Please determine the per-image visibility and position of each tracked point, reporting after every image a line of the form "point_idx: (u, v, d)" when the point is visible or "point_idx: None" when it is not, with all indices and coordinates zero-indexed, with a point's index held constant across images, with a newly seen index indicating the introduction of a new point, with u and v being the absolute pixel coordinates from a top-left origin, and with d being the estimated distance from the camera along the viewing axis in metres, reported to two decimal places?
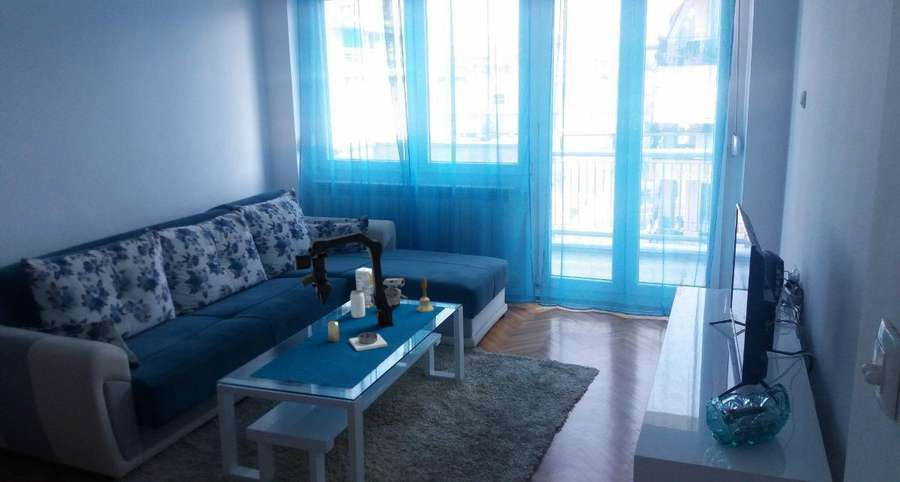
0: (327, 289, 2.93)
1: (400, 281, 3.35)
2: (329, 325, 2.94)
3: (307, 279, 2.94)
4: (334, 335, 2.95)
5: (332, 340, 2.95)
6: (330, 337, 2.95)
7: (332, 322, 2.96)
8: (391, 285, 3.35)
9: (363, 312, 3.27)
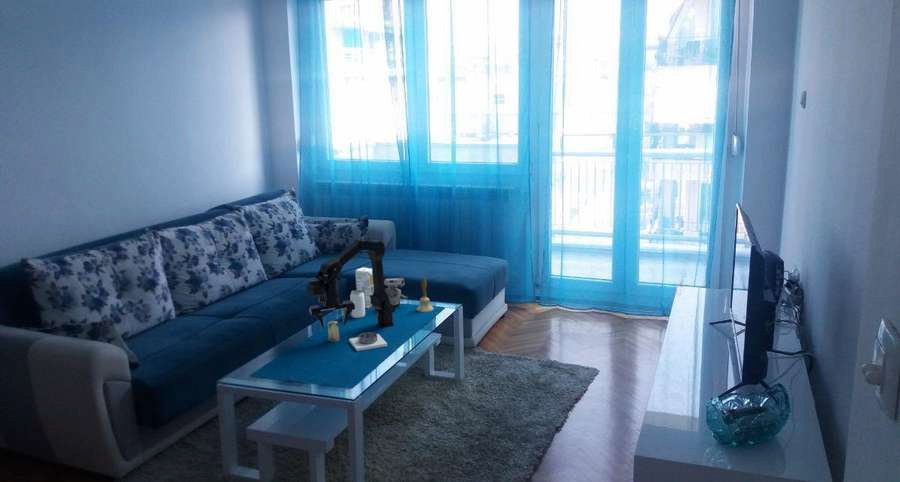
0: (310, 313, 2.90)
1: (400, 281, 3.35)
2: (329, 325, 2.94)
3: (318, 297, 2.98)
4: (334, 335, 2.95)
5: (332, 340, 2.95)
6: (330, 337, 2.95)
7: (332, 322, 2.96)
8: (391, 285, 3.35)
9: (363, 312, 3.27)
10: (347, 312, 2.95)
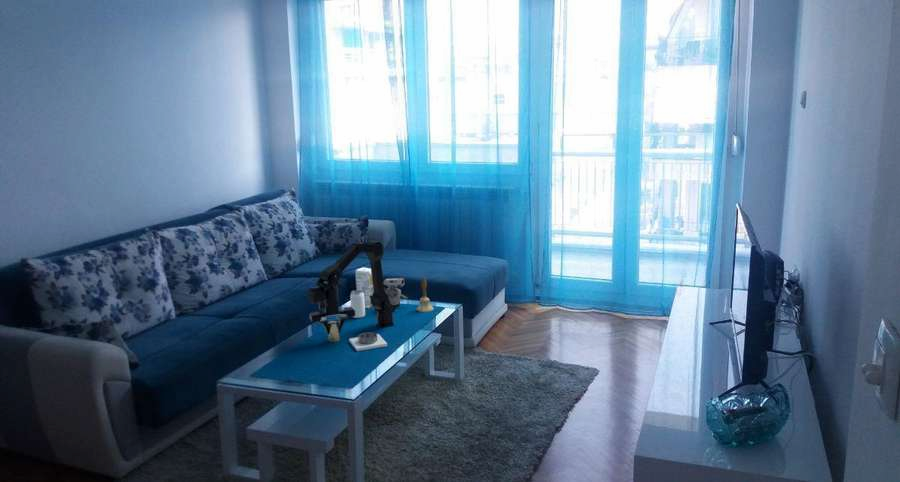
0: (311, 319, 2.91)
1: (400, 281, 3.35)
2: (329, 325, 2.94)
3: (319, 304, 2.98)
4: (334, 335, 2.95)
5: (332, 340, 2.95)
6: (330, 337, 2.95)
7: (332, 322, 2.96)
8: (391, 285, 3.35)
9: (363, 312, 3.27)
10: (342, 319, 2.94)
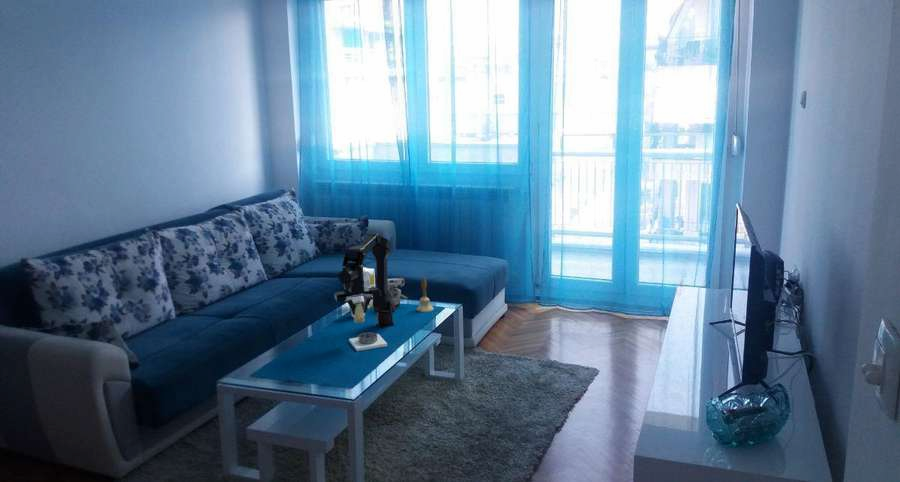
0: (336, 299, 2.84)
1: (400, 281, 3.35)
2: (354, 305, 2.88)
3: (344, 283, 2.92)
4: (359, 315, 2.88)
5: (357, 320, 2.89)
6: (355, 317, 2.89)
7: (357, 302, 2.89)
8: (391, 285, 3.35)
9: None
10: (368, 299, 2.88)
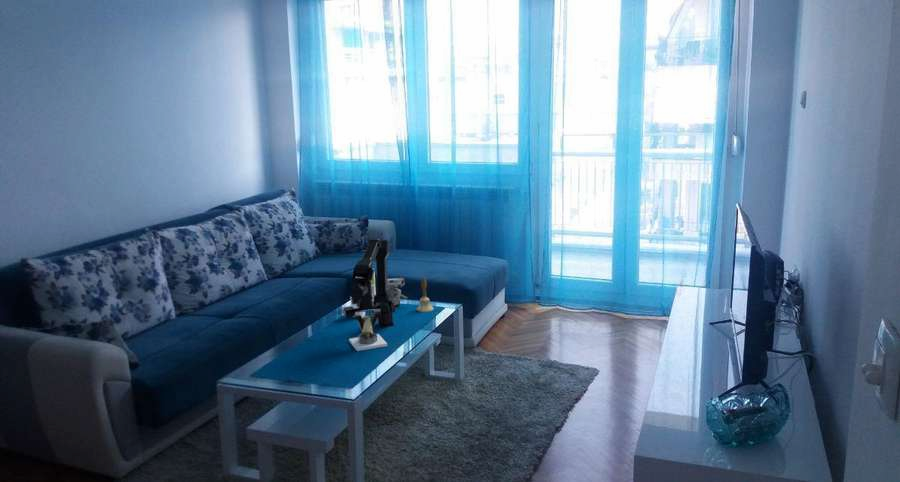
0: (344, 314, 2.85)
1: (400, 281, 3.35)
2: (363, 320, 2.88)
3: (351, 298, 2.92)
4: (368, 330, 2.88)
5: (366, 335, 2.89)
6: (364, 332, 2.89)
7: (365, 317, 2.90)
8: (391, 285, 3.35)
9: (363, 312, 3.27)
10: (376, 314, 2.88)
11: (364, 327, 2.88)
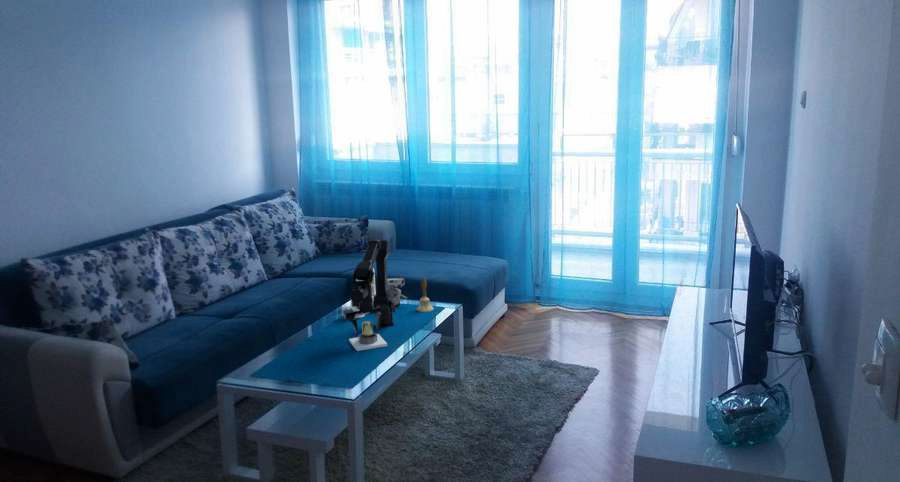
0: (345, 317, 2.85)
1: (400, 281, 3.35)
2: (363, 325, 2.88)
3: (352, 301, 2.92)
4: (368, 335, 2.89)
5: None
6: None
7: (366, 322, 2.90)
8: (391, 285, 3.35)
9: None
10: (381, 316, 2.89)
11: (364, 332, 2.89)
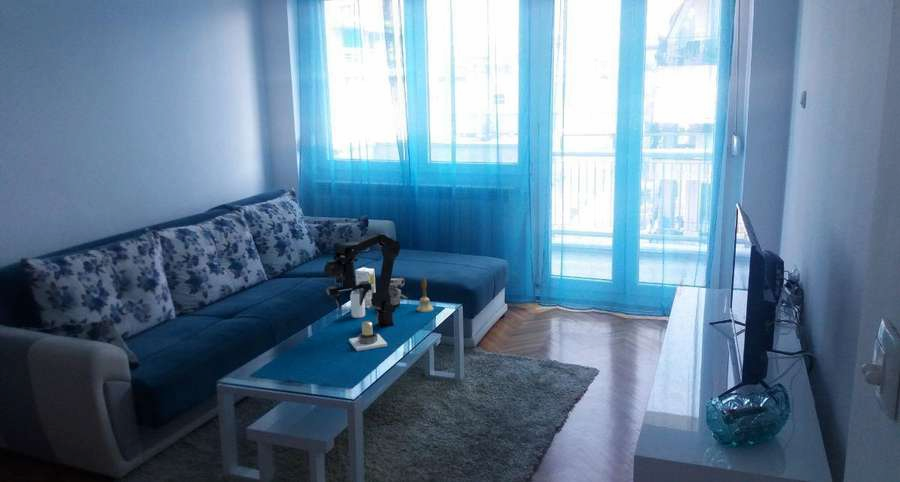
0: (328, 293, 2.94)
1: (400, 281, 3.35)
2: (363, 325, 2.88)
3: (335, 278, 3.01)
4: (368, 335, 2.89)
5: None
6: None
7: (366, 322, 2.90)
8: (391, 285, 3.35)
9: (363, 312, 3.27)
10: (364, 292, 2.99)
11: (364, 332, 2.89)
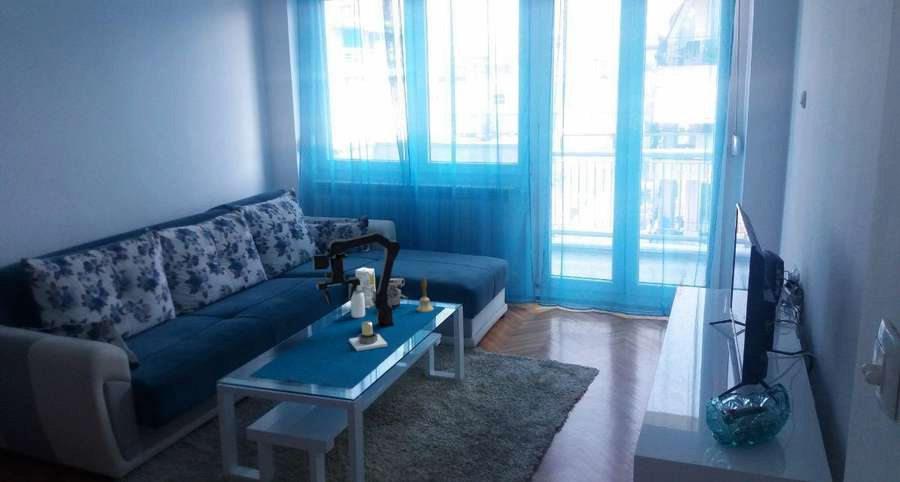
0: (318, 288, 3.02)
1: (400, 281, 3.35)
2: (363, 326, 2.88)
3: (325, 273, 3.09)
4: (368, 335, 2.89)
5: None
6: None
7: (366, 322, 2.90)
8: (391, 285, 3.35)
9: (363, 312, 3.27)
10: (353, 288, 3.06)
11: (365, 332, 2.89)
